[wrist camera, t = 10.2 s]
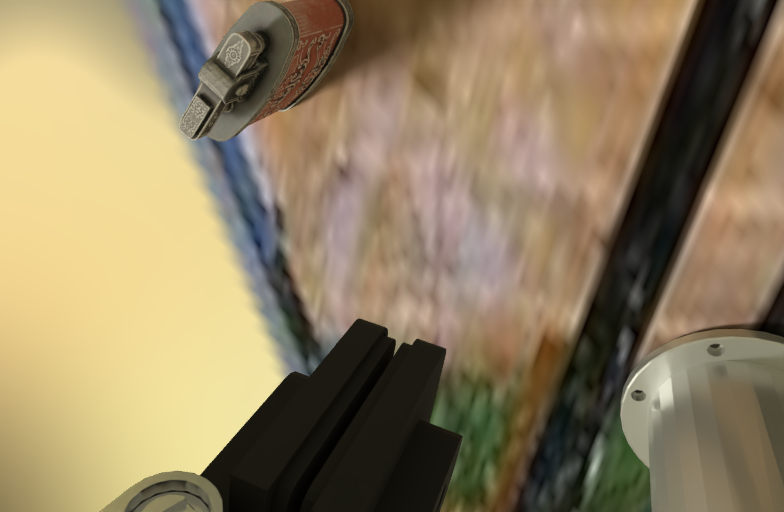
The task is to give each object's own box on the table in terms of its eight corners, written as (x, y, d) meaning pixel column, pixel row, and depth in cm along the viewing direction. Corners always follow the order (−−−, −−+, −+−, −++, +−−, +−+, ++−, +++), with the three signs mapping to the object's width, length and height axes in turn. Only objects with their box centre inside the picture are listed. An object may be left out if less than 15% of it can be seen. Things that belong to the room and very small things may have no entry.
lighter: (322, -25, 33) (221, -13, 25) (366, 19, 33) (281, 45, 25) (253, 82, 37) (147, 123, 29) (293, 120, 38) (199, 171, 29)
